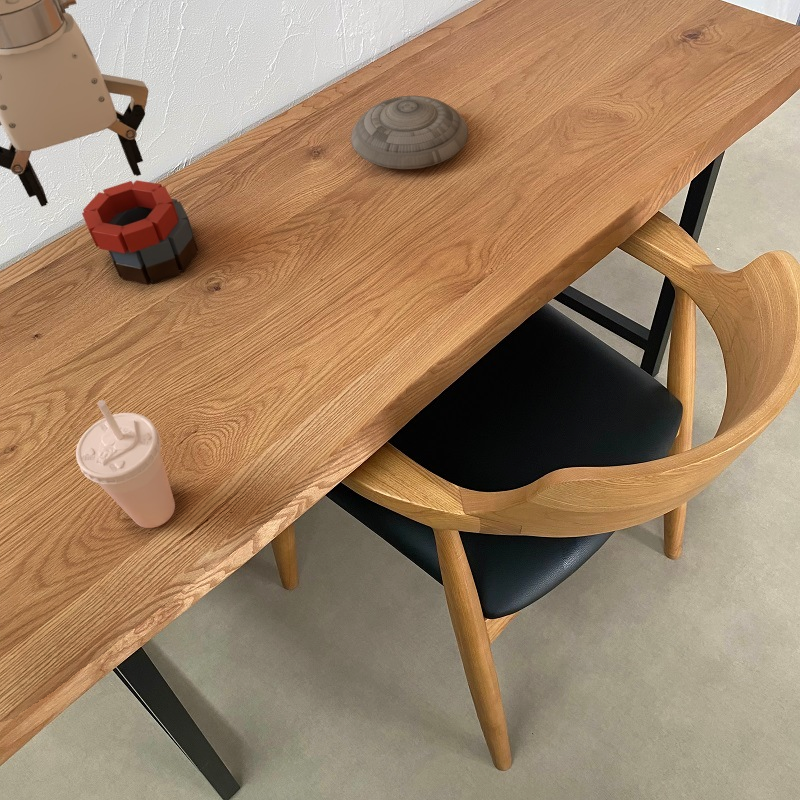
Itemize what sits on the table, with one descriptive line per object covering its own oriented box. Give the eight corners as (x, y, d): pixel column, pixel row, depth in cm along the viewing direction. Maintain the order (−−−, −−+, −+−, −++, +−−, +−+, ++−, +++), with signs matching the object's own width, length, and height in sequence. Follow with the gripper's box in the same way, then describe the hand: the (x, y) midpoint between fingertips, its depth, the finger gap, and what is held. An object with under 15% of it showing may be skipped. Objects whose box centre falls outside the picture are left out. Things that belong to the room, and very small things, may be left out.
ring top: (102, 263, 83) (94, 245, 81) (84, 216, 89) (75, 198, 87) (186, 233, 86) (180, 215, 84) (163, 189, 91) (157, 171, 89)
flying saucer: (379, 192, 96) (375, 152, 92) (334, 132, 105) (329, 93, 101) (489, 156, 99) (490, 116, 95) (436, 101, 108) (435, 62, 104)
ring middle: (119, 277, 85) (111, 259, 84) (101, 229, 91) (93, 212, 89) (201, 248, 88) (195, 231, 86) (178, 204, 93) (172, 187, 91)
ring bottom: (126, 293, 87) (118, 277, 85) (107, 246, 93) (100, 230, 91) (206, 265, 89) (200, 249, 88) (183, 221, 95) (178, 204, 93)
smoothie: (204, 492, 70) (157, 390, 59) (162, 552, 66) (103, 455, 56) (146, 469, 72) (89, 366, 61) (101, 526, 68) (33, 427, 58)
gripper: (105, -25, 73) (161, 140, 86) (-92, 26, 69) (-1, 191, 82) (124, 7, 68) (180, 176, 82) (-85, 64, 64) (10, 231, 78)
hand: (89, 183), depth 82 cm, fingers open, 9 cm apart
